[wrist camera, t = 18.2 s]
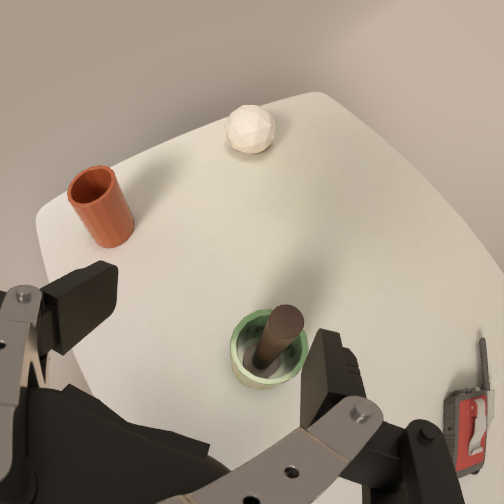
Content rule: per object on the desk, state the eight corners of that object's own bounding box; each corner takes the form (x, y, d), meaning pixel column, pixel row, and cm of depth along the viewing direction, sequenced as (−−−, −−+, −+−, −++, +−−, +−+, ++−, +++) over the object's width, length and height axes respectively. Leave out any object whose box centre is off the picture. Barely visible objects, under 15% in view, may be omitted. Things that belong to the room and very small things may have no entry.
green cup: (249, 399, 29) (255, 398, 21) (220, 350, 31) (216, 331, 23) (299, 371, 31) (322, 358, 23) (270, 324, 33) (282, 296, 25)
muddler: (246, 381, 29) (259, 360, 15) (239, 347, 31) (246, 295, 17) (281, 375, 30) (326, 346, 16) (274, 341, 31) (310, 284, 17)
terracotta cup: (98, 255, 36) (70, 215, 28) (89, 221, 38) (65, 179, 30) (140, 236, 37) (120, 191, 30) (127, 203, 40) (109, 158, 32)
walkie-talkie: (480, 468, 23) (480, 339, 33) (501, 469, 19) (500, 330, 29) (436, 486, 23) (439, 343, 32) (456, 490, 19) (459, 334, 29)
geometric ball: (249, 167, 48) (236, 157, 40) (225, 130, 48) (209, 115, 40) (288, 143, 46) (282, 128, 38) (262, 106, 46) (252, 87, 39)
